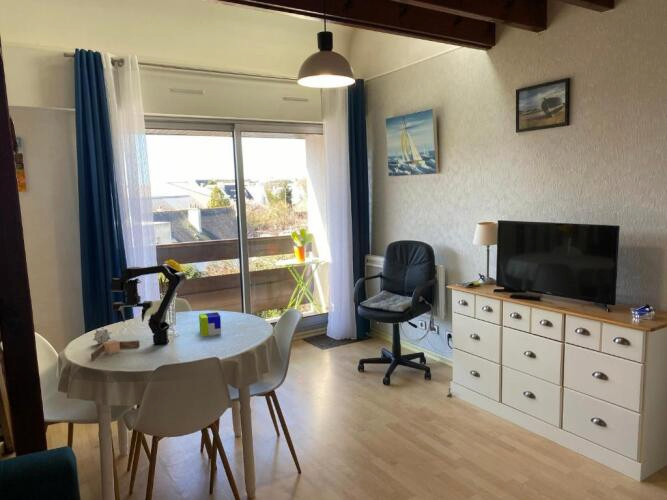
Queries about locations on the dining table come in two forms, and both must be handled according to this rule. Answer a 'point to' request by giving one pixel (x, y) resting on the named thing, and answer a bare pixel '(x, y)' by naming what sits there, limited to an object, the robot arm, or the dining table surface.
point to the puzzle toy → (210, 324)
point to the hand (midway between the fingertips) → (133, 321)
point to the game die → (102, 336)
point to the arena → (122, 345)
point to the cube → (112, 346)
